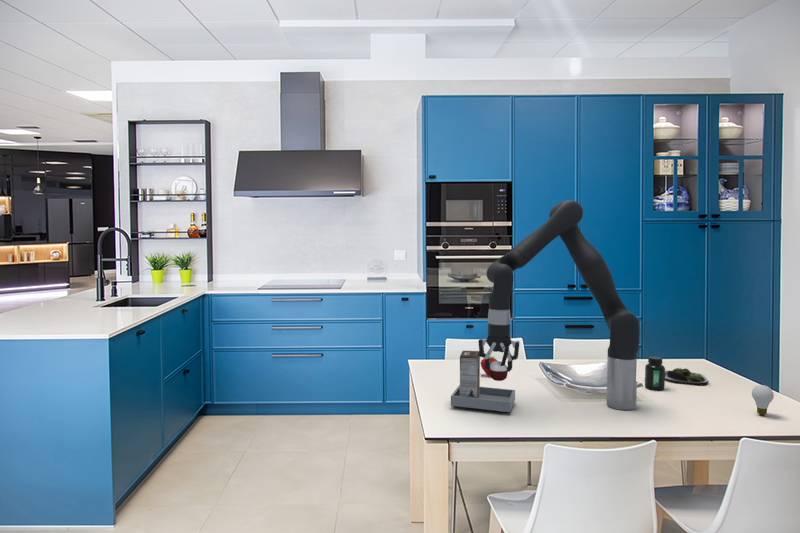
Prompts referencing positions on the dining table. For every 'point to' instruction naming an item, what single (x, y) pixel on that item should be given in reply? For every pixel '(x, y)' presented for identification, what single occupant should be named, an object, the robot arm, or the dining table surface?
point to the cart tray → (486, 399)
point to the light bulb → (762, 398)
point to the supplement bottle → (655, 374)
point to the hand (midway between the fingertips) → (498, 370)
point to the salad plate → (685, 377)
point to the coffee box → (470, 374)
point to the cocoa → (499, 368)
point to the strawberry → (484, 365)
